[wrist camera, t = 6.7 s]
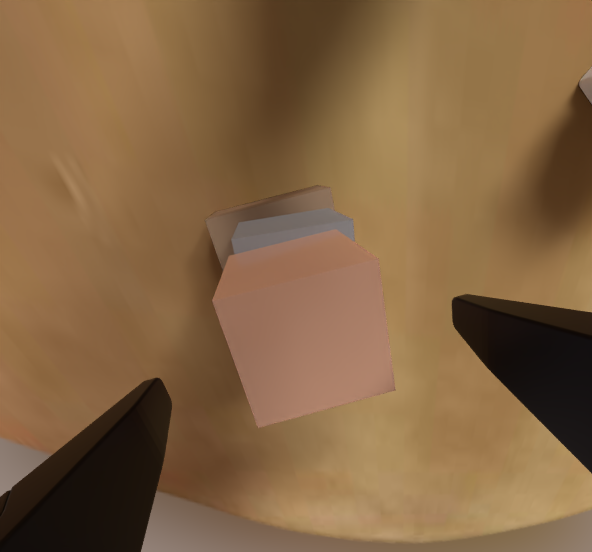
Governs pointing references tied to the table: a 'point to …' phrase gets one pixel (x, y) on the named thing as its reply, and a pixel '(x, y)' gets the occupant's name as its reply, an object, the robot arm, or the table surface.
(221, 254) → the translucent square block
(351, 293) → the terracotta cube
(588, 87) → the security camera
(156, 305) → the table surface
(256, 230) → the grey cube
